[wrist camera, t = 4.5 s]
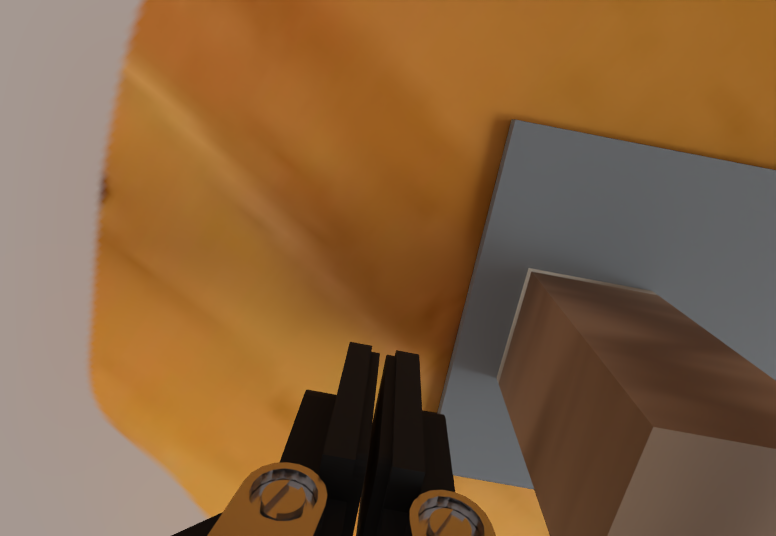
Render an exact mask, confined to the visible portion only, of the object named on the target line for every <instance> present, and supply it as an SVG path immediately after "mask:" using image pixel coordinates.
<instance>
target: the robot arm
mask: <svg viewBox="0 0 776 536" xmlns="http://www.w3.org/2000/svg"><path fill="white" fill-rule="evenodd" d="M371 350H372V346H370V345H364V344H359V343H354V342H350V344H349V348H348V352H347V356H346V360H345V364H344V368H343V372H342V376H341V380H340V384H339V388H338V392H337V395H334V394H328V393H323V392H317V391H312V390H306V392H305V394H304V397H303V399H302V402H301V405H300V408H299V410H298V413H297V416H296V419H295V421H294V424H293V427H292V430H291V432H290V435H289V438H288V441H287V444H286V446H285V449H284V452H283V455H282V457H281V460H280V463H273V464H269V465H266V466H262V467H260V468H259V469H257V470H255V471H254V472H252V473H251V474H250V475H249V476H248V477H247V478H246V479H245V480H244V481H243V483H242V484H241V486H240V487H239V489H238V490H237V492H236V493H235V495H234V496H233V498H232V499H231V501H230V502H229V504H228V505H227V507H226V508H225V510H224V511H223V512H222V513H220V514H218V515H216V516H213V517H211V518H209V519H207V520H205V521H203V522H200V523H198V524H196V525H194V526H192V527H189V528H187V529H185V530H183V531H181V532H178V533H176V534H174V535H172V536H353V532H354V527H355V522H356V517H357V512H358V508H359V503H360V508H359V516H358V525H357V533H356V536H496V535H495V532H494V529H493V527H492V524H491V522H490V521H489V519H488V517H487V515H486V514H485V512H484V511H483V510H482V509H481V508H480V507H479V506H478V505H477V504H476V503H474V502H473V501H471V500H470V499H468V498H467V497H465V496H463V495H460V494H458V493H456V492H455V487H454V480H453V472H452V464H451V456H450V448H449V441H448V433H447V425H446V418H445V415H444V414H439V413H433V412H428V411H422V400H421V381H420V362H419V354H413V353H408V352H403V351H397V350H396V353H395V356H391V355H387V356H386V360H385V364H384V369H383V374H382V379H381V384H380V389H379V394H378V398H377V403H376V408H375V413H374V418H373V411H374V402H375V393H376V384H377V375H378V366H379V357H380V353H375V352H371ZM372 420H373V423H372ZM360 498H361V499H360Z"/></svg>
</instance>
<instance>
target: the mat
mask: <svg viewBox="0 0 776 536" xmlns="http://www.w3.org/2000/svg"><path fill="white" fill-rule="evenodd" d="M528 268H532V269H537V270H542V271H548V272H553V273H558V274H564V275H569V276H574V277H580V278H585V279H590V280H596V281H601V282H606V283H612V284H617V285H622V286H628V287H633V288H638V289H644V290H649V291H653V292H654V293H656V294H657V295H659V296H660V297H661V298H663V299H664V300H665V301H667V302H668V303H670V304H671V305H672V306H674V307H675V308H676V309H678V310H679V311H681V312H682V313H683V314H685V315H686V316H687V317H689V318H690V319H692V320H693V321H694V322H696V323H697V324H698V325H700V326H701V327H703V328H704V329H705V330H707V331H708V332H709V333H711V334H712V335H714V336H715V337H716V338H718V339H719V340H720V341H722V342H723V343H725V344H726V345H727V346H729V347H730V348H731V349H733V350H734V351H736V352H737V353H738V354H740V355H741V356H742V357H744V358H745V359H747V360H748V361H749V362H751V363H752V364H753V365H755V366H756V367H758V368H759V369H760V370H762V371H763V372H764V373H766V374H767V375H769V376H770V377H771V378H773V379H774V380H775V381H776V170H772V169H766V168H761V167H756V166H751V165H746V164H741V163H736V162H730V161H725V160H720V159H715V158H710V157H705V156H700V155H694V154H689V153H684V152H679V151H674V150H669V149H664V148H658V147H653V146H648V145H643V144H638V143H633V142H628V141H622V140H617V139H612V138H607V137H602V136H597V135H592V134H586V133H581V132H576V131H571V130H566V129H561V128H556V127H550V126H545V125H540V124H535V123H530V122H525V121H520V120H513V119H512V120H511V124H510V128H509V132H508V136H507V140H506V144H505V147H504V151H503V155H502V159H501V163H500V167H499V171H498V175H497V179H496V183H495V187H494V191H493V195H492V199H491V203H490V207H489V211H488V215H487V219H486V223H485V227H484V230H483V234H482V238H481V242H480V246H479V250H478V254H477V258H476V262H475V266H474V270H473V274H472V278H471V282H470V286H469V290H468V294H467V298H466V302H465V306H464V309H463V313H462V317H461V321H460V325H459V329H458V333H457V337H456V341H455V345H454V349H453V353H452V357H451V361H450V365H449V369H448V373H447V377H446V381H445V385H444V389H443V392H442V396H441V400H440V404H439V408H438V412H437V413H439V414H444V415H445V418H446V425H447V433H448V441H449V448H450V456H451V464H452V472H453V475H455V476H461V477H467V478H472V479H478V480H483V481H489V482H495V483H500V484H506V485H512V486H517V487H523V488H529V489H534V487H533V484H532V481H531V478H530V475H529V472H528V469H527V466H526V463H525V460H524V458H523V455H522V452H521V449H520V446H519V443H518V440H517V437H516V434H515V431H514V428H513V425H512V422H511V419H510V416H509V413H508V410H507V407H506V405H505V402H504V399H503V396H502V393H501V390H500V387H499V384H498V381H497V375H498V371H499V368H500V365H501V361H502V358H503V354H504V351H505V347H506V344H507V340H508V337H509V334H510V330H511V327H512V323H513V320H514V316H515V313H516V309H517V306H518V303H519V299H520V296H521V292H522V289H523V285H524V282H525V279H526V275H527V272H528Z"/></svg>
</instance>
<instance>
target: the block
mask: <svg viewBox="0 0 776 536" xmlns="http://www.w3.org/2000/svg"><path fill="white" fill-rule="evenodd" d="M497 381H498V384H499V387H500V390H501V393H502V396H503V399H504V402H505V405H506V407H507V410H508V413H509V416H510V419H511V422H512V425H513V428H514V431H515V434H516V437H517V440H518V443H519V446H520V449H521V452H522V455H523V458H524V460H525V463H526V466H527V469H528V472H529V475H530V478H531V481H532V484H533V487H534V490H535V493H536V496H537V499H538V502H539V505H540V508H541V511H542V513H543V516H544V519H545V522H546V525H547V528H548V531H549V534H550V536H776V381H775V380H774V379H773V378H771V377H770V376H769V375H767V374H766V373H764V372H763V371H762V370H760V369H759V368H758V367H756V366H755V365H753V364H752V363H751V362H749V361H748V360H747V359H745V358H744V357H742V356H741V355H740V354H738V353H737V352H736V351H734V350H733V349H731V348H730V347H729V346H727V345H726V344H725V343H723V342H722V341H720V340H719V339H718V338H716V337H715V336H714V335H712V334H711V333H709V332H708V331H707V330H705V329H704V328H703V327H701V326H700V325H698V324H697V323H696V322H694V321H693V320H692V319H690V318H689V317H687V316H686V315H685V314H683V313H682V312H681V311H679V310H678V309H676V308H675V307H674V306H672V305H671V304H670V303H668V302H667V301H665V300H664V299H663V298H661V297H660V296H659V295H657V294H656V293H654V292H653V291H649V290H644V289H638V288H633V287H628V286H622V285H617V284H612V283H606V282H601V281H596V280H590V279H585V278H580V277H574V276H569V275H564V274H558V273H553V272H548V271H542V270H537V269H532V268H528V272H527V275H526V279H525V282H524V285H523V289H522V292H521V296H520V299H519V303H518V306H517V309H516V313H515V316H514V320H513V323H512V327H511V330H510V334H509V337H508V340H507V344H506V347H505V351H504V354H503V358H502V361H501V365H500V368H499V371H498V375H497Z"/></svg>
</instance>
